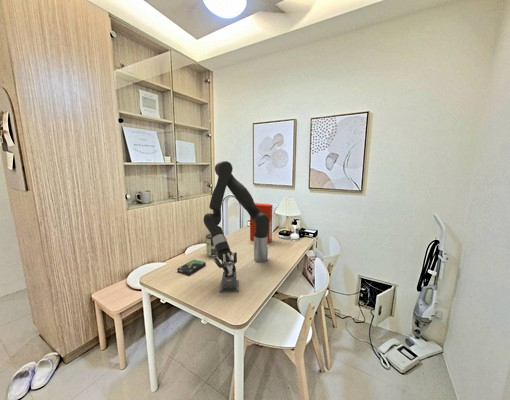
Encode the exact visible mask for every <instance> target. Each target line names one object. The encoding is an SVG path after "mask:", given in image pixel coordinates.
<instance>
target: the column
mask: <svg viewBox="0 0 510 400" xmlns="http://www.w3.org/2000/svg"><path fill="white" fill-rule="evenodd" d="M225 264H226V267H227V269H228V272H229V274H228V275H226V277H233V264H234V261H233V260H226V262H225Z"/></svg>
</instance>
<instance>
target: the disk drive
mask: <svg viewBox="0 0 510 400" xmlns="http://www.w3.org/2000/svg"><path fill="white" fill-rule="evenodd" d="M206 266H207V265H206V262H205V261H201V260H197V259H192V260H190V261H188V262H187V263H185V264H183V265H181V266H179V267H177V273H180V274H183V275H186V276H188V277H190V276H192V275H193V274H194V273H196V272H198V271H200V270H201V269H203V268H204V267H206Z"/></svg>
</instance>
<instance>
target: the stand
mask: <svg viewBox="0 0 510 400" xmlns="http://www.w3.org/2000/svg"><path fill="white" fill-rule="evenodd" d="M237 277H238V276H237V271H236V272H234V273H233V277H226V274H225V273H224V271H223V272H222V277H221V281H220V286H219V293H222V294H223V293H239V291H240V290H239V289H240V280H239V279H237Z"/></svg>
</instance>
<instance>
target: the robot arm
mask: <svg viewBox="0 0 510 400" xmlns="http://www.w3.org/2000/svg"><path fill="white" fill-rule="evenodd" d="M214 171H215V174H216V175H217V181H216V185H215V187H214V189H213V192H212V193H211V197H210V201H209V205H208V206H209V207H208V208H209V209H210V210H212V213H210V212H209V213H205V214H204V216H203V224H204V225H205V227H206V229H207V231H208V232H209V234H211V236H212V239H213V243H214V246H215V249H216V252H217V256H214V258H213V262H214V263H215V264H216V266H217V268H219V269H222V270H223V272H224V273H225V274H226V275H228V274H229V272H228V269H227V267H226V264H225V262H226V260H233V261H234V264H233V273H234V272H236V273H237V268H236V263H237V262H238V256H237V255H238V253H237V252H236V251H235V252H233V251H231V249H230V246H229V242H228V241H227V238H226V236H225V234H224V230H223V228H222V227H221V226H219V225H220V224H221V220H222V205H223V200H224V196H225V192H226V188H228V190H229V191H230V193H232V195H233V196H234V199H236V200H237V202H238V203H239V204H240V205H241V207H242V208H244V210H245V211H246V212H247V213H248V215H249V217H251V218H252V220H253V222H254V223H255V224H256V231H255V232H254V241H253V261H255V262H257V263H265V262H268V258H269V257H268V253H269V249H268V248H269V247H268V243H267V236H268V232H269V218H268V216H267V215H265V214H264V213H262V212H261V211H260V210H259V209H258V208H257V206H256V205H255V203H256V202H255V200H254V198H253V196H252V194H251V193H250V192H249V190H248V189H247V188H246V187H245V185H244V184H243V183H241V182H240V181H239V180H238V179H236V177H235V176H234V175H233V165H232V163H231V162H230V161H227V160H223V161H220V162H217V163H216V164H215V166H214Z"/></svg>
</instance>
